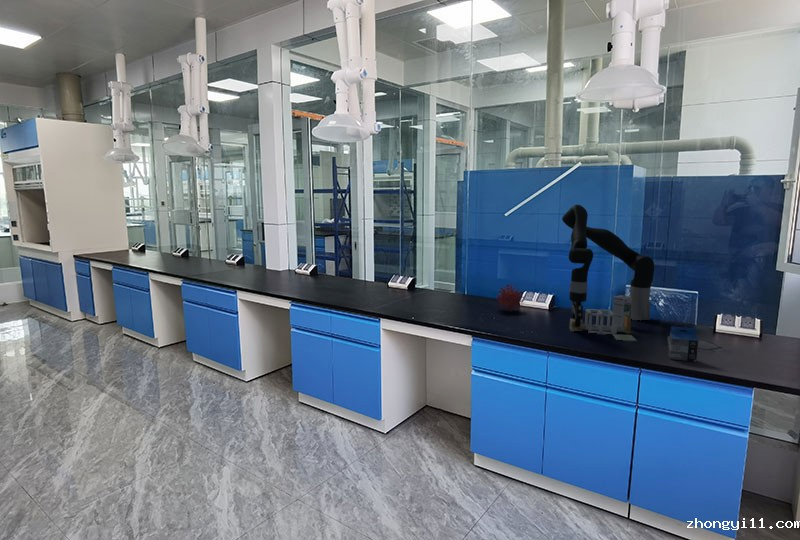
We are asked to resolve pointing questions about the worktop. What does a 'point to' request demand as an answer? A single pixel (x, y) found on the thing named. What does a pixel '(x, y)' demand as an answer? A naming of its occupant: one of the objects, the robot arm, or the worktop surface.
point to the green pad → (624, 337)
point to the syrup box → (621, 309)
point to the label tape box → (683, 344)
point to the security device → (704, 345)
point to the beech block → (573, 327)
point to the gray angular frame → (599, 313)
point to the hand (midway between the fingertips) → (575, 324)
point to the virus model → (510, 298)
